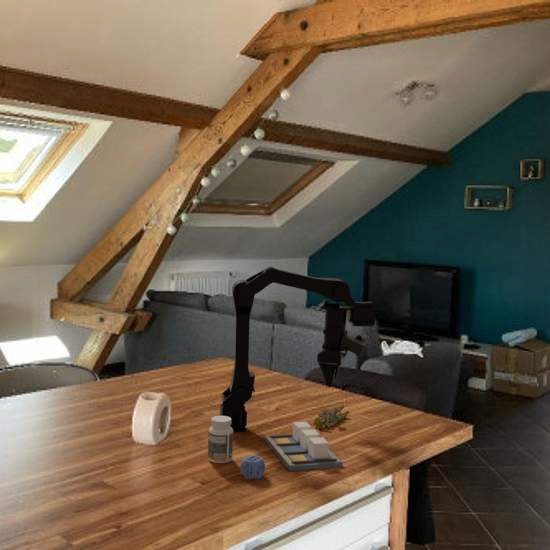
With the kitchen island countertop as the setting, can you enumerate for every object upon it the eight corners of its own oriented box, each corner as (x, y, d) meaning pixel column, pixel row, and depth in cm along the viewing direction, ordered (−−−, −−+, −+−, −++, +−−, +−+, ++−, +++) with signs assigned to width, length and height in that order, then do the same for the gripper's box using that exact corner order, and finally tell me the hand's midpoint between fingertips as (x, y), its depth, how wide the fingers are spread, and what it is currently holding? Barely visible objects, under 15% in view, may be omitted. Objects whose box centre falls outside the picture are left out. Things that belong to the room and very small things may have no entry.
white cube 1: (313, 459, 159) (314, 443, 159) (308, 453, 163) (308, 438, 163) (327, 458, 160) (328, 442, 160) (321, 452, 164) (322, 437, 164)
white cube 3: (297, 441, 171) (298, 427, 170) (292, 436, 174) (293, 422, 174) (310, 441, 172) (311, 426, 171) (305, 435, 175) (305, 421, 175)
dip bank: (289, 470, 155) (289, 464, 155) (264, 439, 175) (264, 434, 175) (342, 466, 159) (342, 460, 159) (311, 436, 179) (312, 431, 179)
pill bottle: (219, 453, 164) (221, 413, 163) (237, 459, 160) (238, 418, 159) (202, 459, 160) (204, 418, 159) (220, 466, 156) (221, 424, 155)
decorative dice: (239, 476, 151) (240, 459, 150) (250, 471, 154) (251, 454, 153) (254, 481, 148) (255, 463, 148) (265, 475, 152) (265, 458, 151)
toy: (355, 413, 196) (331, 422, 183) (344, 424, 198) (319, 434, 185) (343, 399, 198) (318, 407, 185) (332, 411, 200) (307, 420, 187)
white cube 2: (305, 450, 165) (306, 435, 165) (299, 444, 169) (300, 430, 168) (318, 449, 166) (319, 434, 166) (313, 443, 170) (314, 429, 169)
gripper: (362, 334, 173) (358, 394, 174) (368, 323, 191) (364, 377, 192) (318, 330, 175) (315, 390, 177) (328, 319, 193) (325, 373, 195)
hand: (331, 382), depth 185 cm, fingers open, 9 cm apart
